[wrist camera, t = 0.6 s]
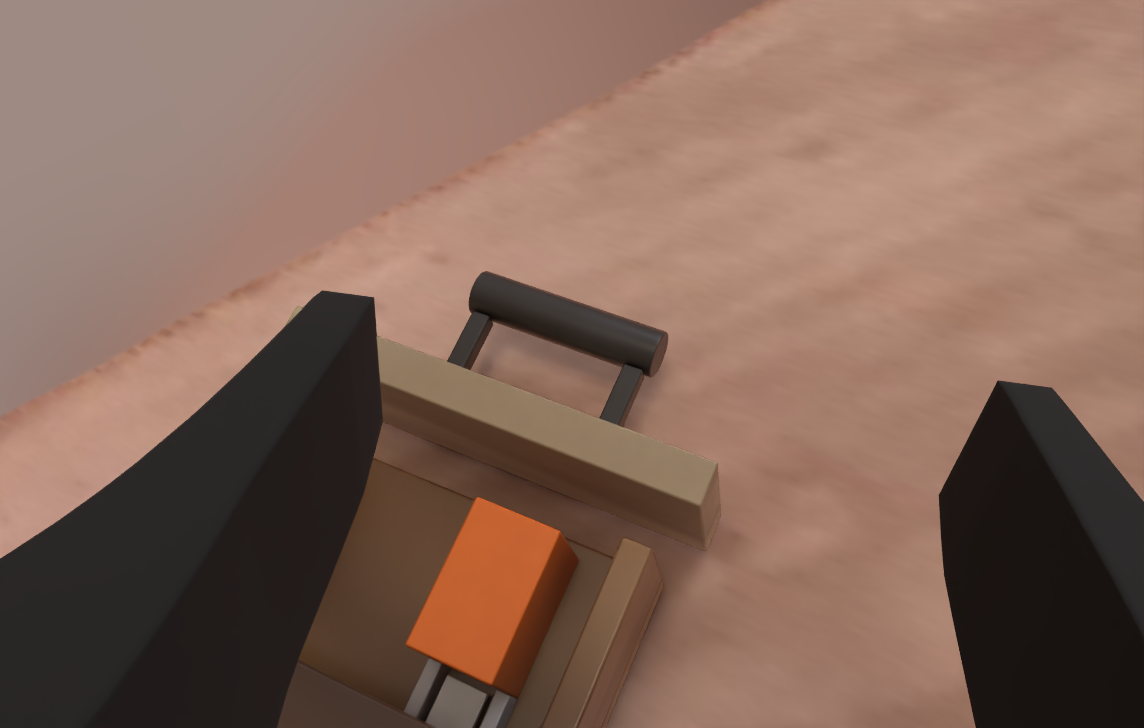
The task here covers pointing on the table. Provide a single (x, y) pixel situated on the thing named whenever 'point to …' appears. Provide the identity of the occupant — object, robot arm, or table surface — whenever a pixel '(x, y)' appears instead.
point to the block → (488, 616)
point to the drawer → (536, 453)
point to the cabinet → (337, 705)
